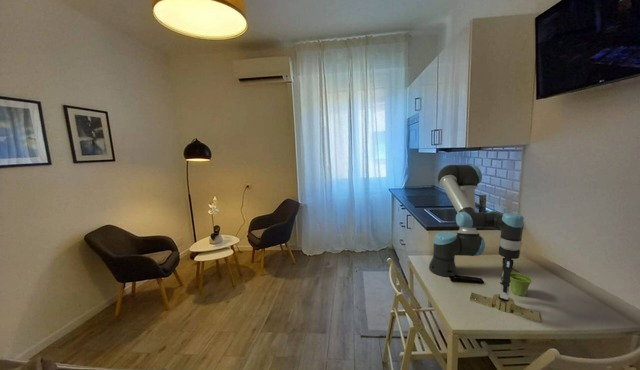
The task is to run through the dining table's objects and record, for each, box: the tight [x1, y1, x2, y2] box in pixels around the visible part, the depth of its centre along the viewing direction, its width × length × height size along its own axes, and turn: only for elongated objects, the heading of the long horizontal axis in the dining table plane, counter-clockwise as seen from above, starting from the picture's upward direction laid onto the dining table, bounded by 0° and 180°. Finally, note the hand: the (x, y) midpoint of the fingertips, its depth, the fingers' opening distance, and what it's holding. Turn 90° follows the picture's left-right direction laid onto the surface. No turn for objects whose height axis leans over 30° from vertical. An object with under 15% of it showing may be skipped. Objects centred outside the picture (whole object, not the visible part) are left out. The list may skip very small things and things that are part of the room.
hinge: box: [469, 292, 541, 323], centre depth 117 cm, size 26×8×4 cm, turn 53°
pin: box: [499, 276, 511, 302], centre depth 116 cm, size 4×4×14 cm
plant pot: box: [509, 272, 533, 297], centre depth 128 cm, size 9×9×9 cm
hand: (504, 291), depth 116 cm, fingers open, 13 cm apart
